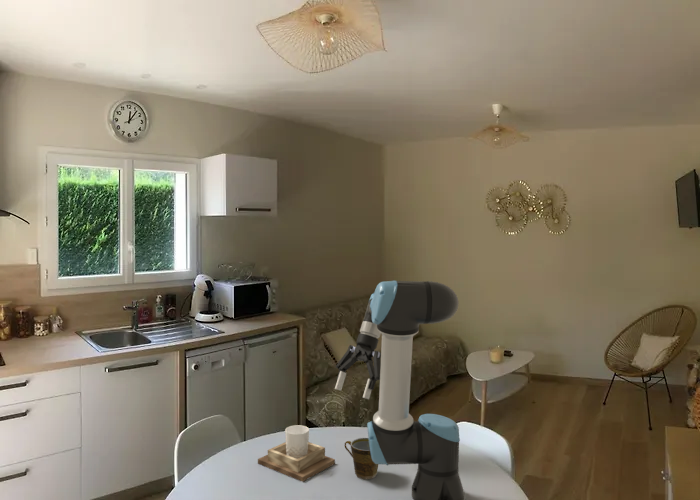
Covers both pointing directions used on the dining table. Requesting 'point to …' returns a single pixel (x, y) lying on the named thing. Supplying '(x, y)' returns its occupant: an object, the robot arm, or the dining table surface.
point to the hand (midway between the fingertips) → (351, 394)
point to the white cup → (297, 441)
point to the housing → (297, 461)
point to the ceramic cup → (362, 458)
